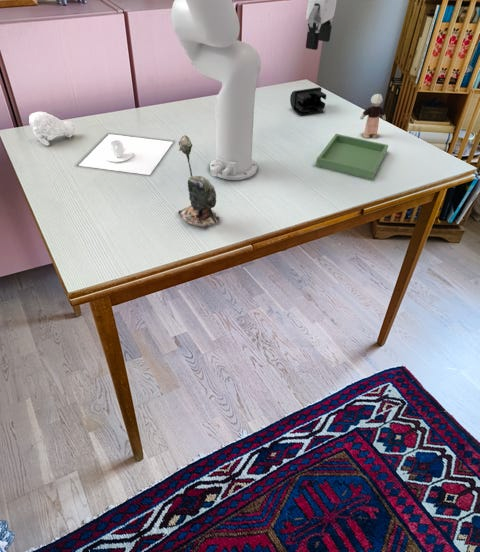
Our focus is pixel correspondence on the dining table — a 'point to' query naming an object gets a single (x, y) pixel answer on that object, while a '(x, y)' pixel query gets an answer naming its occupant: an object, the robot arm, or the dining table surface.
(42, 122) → the white animal figurine
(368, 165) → the tray
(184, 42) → the robot arm
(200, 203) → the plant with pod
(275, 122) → the dining table surface
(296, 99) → the end cap
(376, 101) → the grandmother figurine
